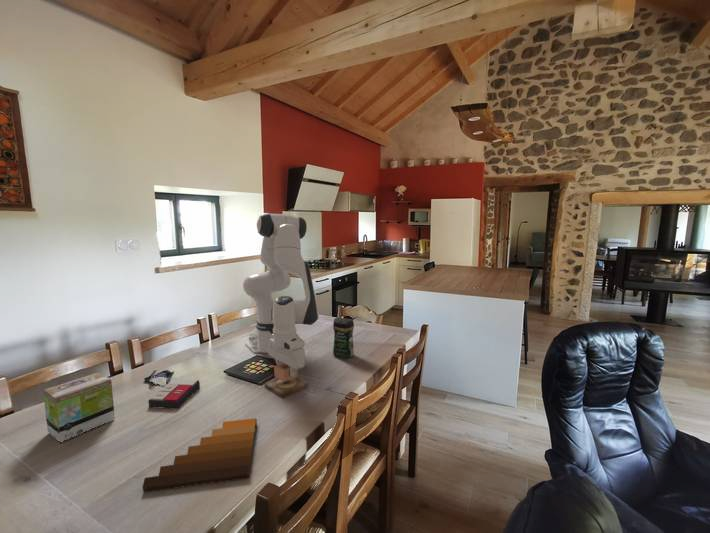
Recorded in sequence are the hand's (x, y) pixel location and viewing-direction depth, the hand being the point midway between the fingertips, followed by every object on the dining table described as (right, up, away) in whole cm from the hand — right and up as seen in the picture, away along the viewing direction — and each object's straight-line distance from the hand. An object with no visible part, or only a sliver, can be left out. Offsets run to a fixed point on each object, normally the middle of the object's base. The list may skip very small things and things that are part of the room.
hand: (286, 372), depth 139 cm
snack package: (-53, -6, +6) cm, 53 cm away
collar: (0, -2, 0) cm, 2 cm away
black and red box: (-40, -8, -7) cm, 41 cm away
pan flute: (-15, -13, -38) cm, 42 cm away
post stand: (0, -6, +1) cm, 6 cm away
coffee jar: (+22, -1, +31) cm, 38 cm away
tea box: (-61, -10, -25) cm, 66 cm away
